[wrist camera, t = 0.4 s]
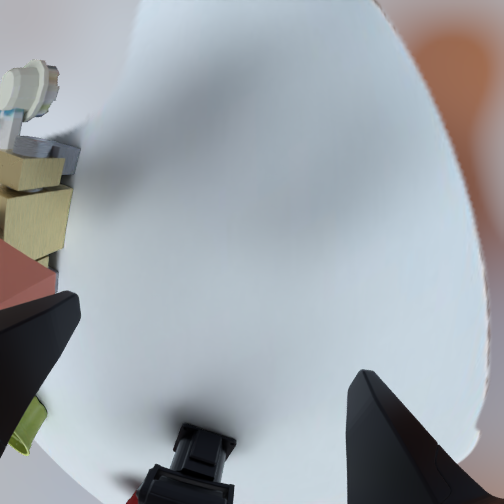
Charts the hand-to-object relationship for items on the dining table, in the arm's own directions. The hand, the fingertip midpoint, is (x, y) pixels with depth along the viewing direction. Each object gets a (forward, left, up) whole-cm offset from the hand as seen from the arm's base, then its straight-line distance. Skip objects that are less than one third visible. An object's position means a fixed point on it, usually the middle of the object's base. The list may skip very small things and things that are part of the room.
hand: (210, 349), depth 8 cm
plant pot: (-37, +24, -15) cm, 47 cm away
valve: (-4, +19, -15) cm, 25 cm away
